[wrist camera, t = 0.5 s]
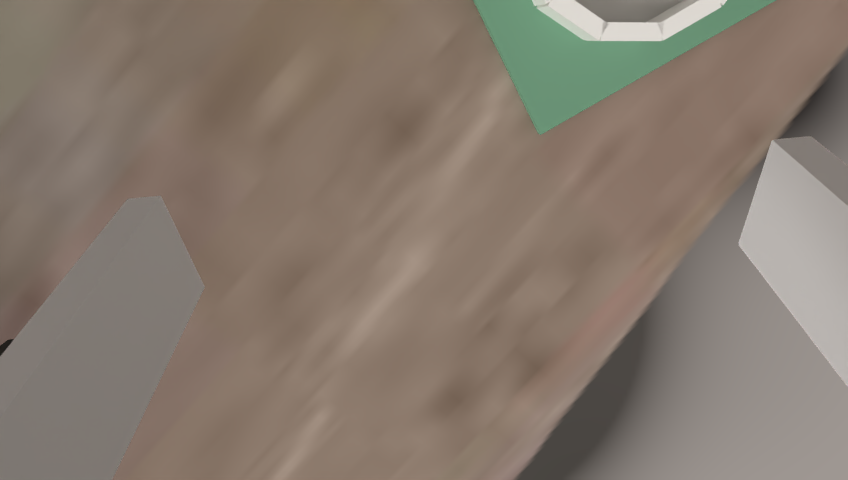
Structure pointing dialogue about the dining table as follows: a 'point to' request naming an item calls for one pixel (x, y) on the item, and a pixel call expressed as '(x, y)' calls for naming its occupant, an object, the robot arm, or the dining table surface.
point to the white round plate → (626, 17)
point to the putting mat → (584, 56)
